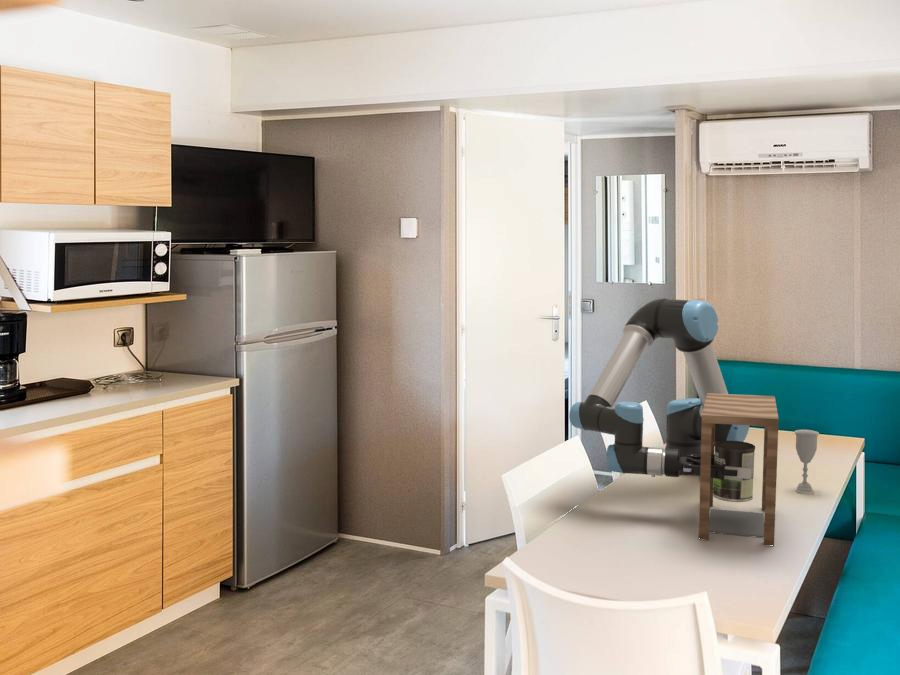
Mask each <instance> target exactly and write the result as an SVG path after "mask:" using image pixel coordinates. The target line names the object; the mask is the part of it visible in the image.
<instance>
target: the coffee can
mask: <svg viewBox="0 0 900 675" xmlns="http://www.w3.org/2000/svg"><path fill="white" fill-rule="evenodd" d="M755 450H756V446H755V444H752V443H750V442H746V441H743V442H741V441H719V442H716V443H715V444H714V454H715V460H714V465H715V466H719V467H724V469H725V466H730V467H743V468H751V479H744V478H731V477H725V476H724V480H720V479H717V478H714V482H713V498H715V499H717V500H721V501H725V502H731V503H746V502H750V501H752V500H754V499H753V498H754V497H753V494H754V471H755V470H754V469H755V467H754V466H755Z"/></svg>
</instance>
